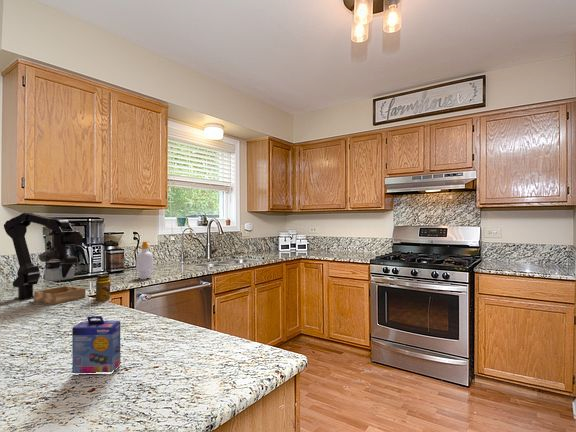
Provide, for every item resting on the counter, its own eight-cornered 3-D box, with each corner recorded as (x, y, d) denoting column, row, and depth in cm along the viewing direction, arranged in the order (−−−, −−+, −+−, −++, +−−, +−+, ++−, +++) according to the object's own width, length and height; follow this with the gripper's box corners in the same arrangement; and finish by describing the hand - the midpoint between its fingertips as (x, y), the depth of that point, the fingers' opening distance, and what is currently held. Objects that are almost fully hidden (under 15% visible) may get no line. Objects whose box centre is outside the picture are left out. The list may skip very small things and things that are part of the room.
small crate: (52, 281, 158) (53, 270, 158) (44, 280, 161) (44, 269, 161) (74, 278, 167) (74, 267, 167) (65, 277, 170) (66, 267, 170)
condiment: (111, 300, 161) (111, 275, 162) (91, 303, 157) (91, 277, 157) (110, 297, 168) (110, 273, 168) (90, 300, 163) (90, 275, 163)
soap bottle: (156, 278, 224) (156, 241, 224) (142, 280, 215) (142, 242, 215) (146, 276, 229) (146, 241, 229) (132, 278, 220) (133, 241, 221)
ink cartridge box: (70, 377, 83) (70, 318, 83) (82, 367, 89) (82, 311, 89) (112, 375, 84) (112, 317, 84) (121, 365, 90) (121, 311, 90)
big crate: (34, 301, 160) (34, 291, 160) (65, 294, 174) (65, 285, 174) (54, 304, 154) (54, 294, 154) (85, 297, 168) (85, 288, 168)
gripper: (30, 245, 160) (29, 278, 160) (54, 246, 153) (54, 281, 152) (54, 243, 171) (54, 274, 170) (78, 245, 163) (78, 277, 163)
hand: (59, 277), depth 164 cm, fingers closed on small crate, 6 cm apart
